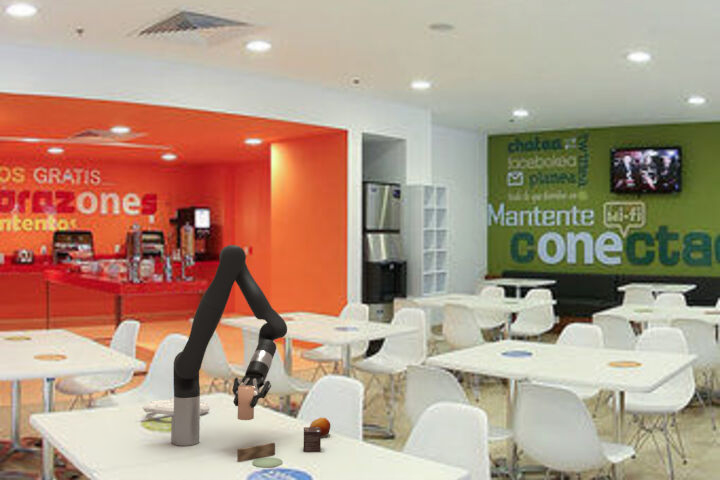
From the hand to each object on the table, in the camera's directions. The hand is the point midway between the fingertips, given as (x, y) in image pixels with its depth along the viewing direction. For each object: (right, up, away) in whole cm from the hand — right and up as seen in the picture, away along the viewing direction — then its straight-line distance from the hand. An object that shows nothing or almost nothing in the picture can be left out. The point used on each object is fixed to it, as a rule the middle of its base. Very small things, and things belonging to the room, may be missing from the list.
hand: (243, 405), depth 269 cm
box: (+23, -17, +7) cm, 30 cm away
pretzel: (-36, -16, +55) cm, 68 cm away
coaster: (+9, -17, -10) cm, 22 cm away
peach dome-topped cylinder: (0, -5, +2) cm, 5 cm away
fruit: (+25, -17, +25) cm, 40 cm away
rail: (+5, -17, -4) cm, 18 cm away
